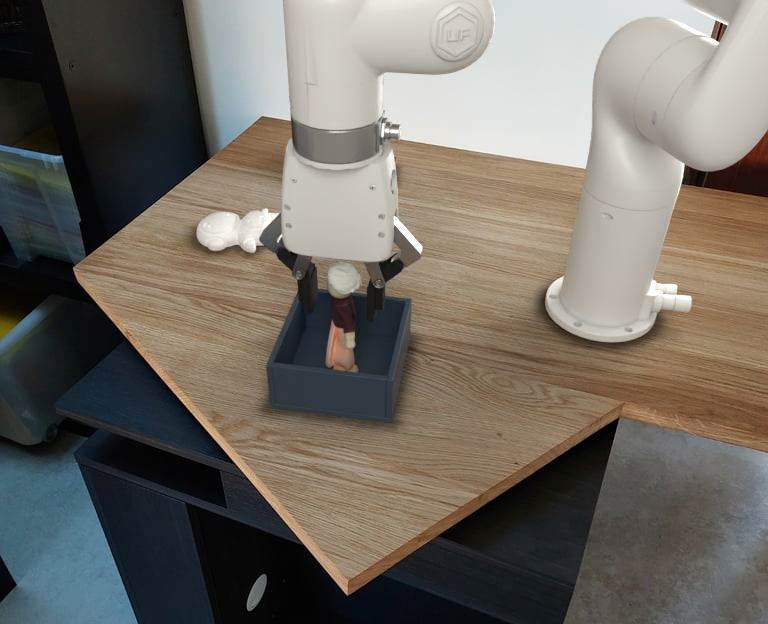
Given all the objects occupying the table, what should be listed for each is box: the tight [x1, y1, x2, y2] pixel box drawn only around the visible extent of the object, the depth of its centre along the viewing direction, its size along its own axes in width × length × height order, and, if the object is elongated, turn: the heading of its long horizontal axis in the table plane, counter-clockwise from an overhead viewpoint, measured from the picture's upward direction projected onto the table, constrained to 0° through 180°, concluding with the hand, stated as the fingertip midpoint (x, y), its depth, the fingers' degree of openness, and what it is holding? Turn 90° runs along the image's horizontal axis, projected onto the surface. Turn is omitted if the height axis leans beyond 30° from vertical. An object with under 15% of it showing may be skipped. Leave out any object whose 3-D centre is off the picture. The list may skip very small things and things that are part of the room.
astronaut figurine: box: [195, 207, 282, 254], centre depth 100 cm, size 9×12×3 cm
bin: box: [265, 288, 413, 424], centre depth 80 cm, size 12×13×6 cm
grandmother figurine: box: [325, 260, 363, 373], centre depth 77 cm, size 8×4×13 cm, turn 21°
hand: (342, 308), depth 76 cm, fingers open, 5 cm apart
